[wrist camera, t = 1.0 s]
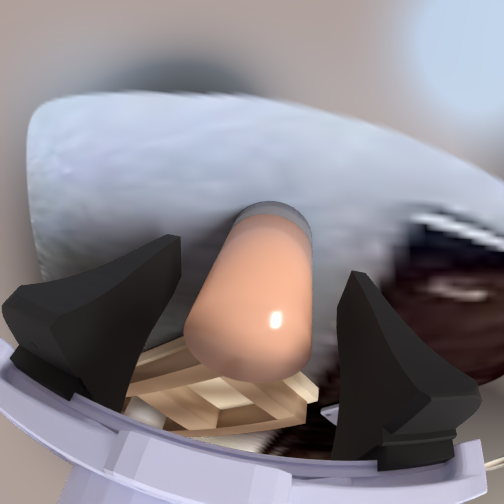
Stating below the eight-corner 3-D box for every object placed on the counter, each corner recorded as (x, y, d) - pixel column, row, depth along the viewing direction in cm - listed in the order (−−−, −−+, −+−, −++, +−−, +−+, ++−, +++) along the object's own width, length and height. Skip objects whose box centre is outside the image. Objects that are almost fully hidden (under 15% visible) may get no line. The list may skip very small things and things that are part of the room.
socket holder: (318, 388, 20) (313, 470, 14) (162, 417, 29) (143, 464, 23) (239, 311, 17) (208, 414, 11) (98, 369, 26) (70, 419, 20)
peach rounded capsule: (326, 250, 14) (335, 363, 8) (263, 283, 16) (237, 391, 10) (280, 185, 13) (258, 275, 7) (216, 228, 14) (158, 326, 9)
